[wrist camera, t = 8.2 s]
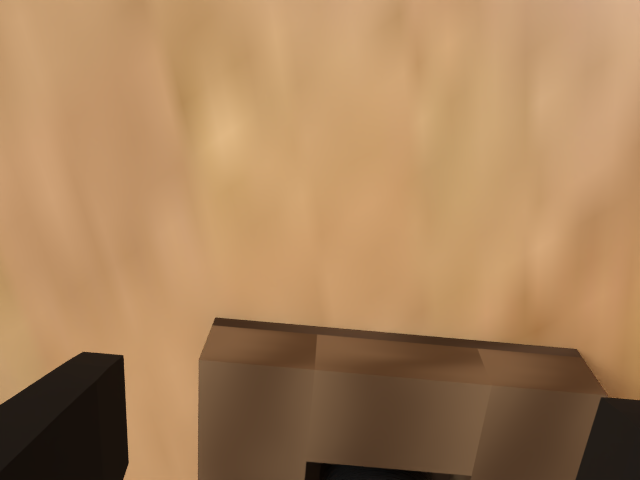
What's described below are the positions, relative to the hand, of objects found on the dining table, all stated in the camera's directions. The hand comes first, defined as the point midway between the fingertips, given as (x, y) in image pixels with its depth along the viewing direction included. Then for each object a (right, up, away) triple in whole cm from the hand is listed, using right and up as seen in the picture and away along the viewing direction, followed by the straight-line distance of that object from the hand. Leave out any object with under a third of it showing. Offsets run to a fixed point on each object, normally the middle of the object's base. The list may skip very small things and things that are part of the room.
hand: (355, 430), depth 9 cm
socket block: (+1, -6, +13) cm, 14 cm away
